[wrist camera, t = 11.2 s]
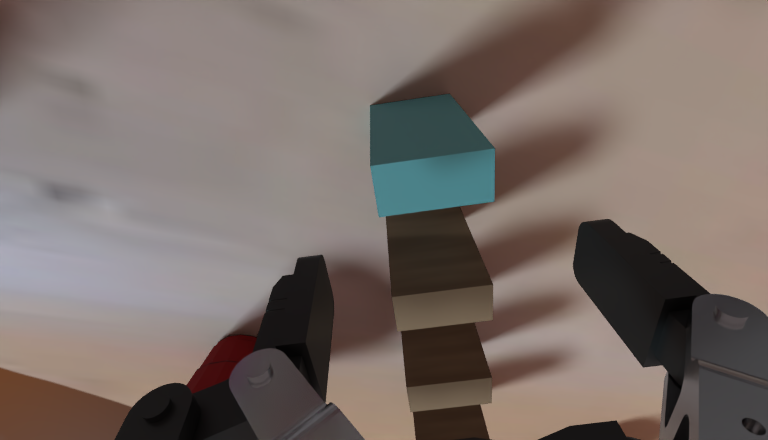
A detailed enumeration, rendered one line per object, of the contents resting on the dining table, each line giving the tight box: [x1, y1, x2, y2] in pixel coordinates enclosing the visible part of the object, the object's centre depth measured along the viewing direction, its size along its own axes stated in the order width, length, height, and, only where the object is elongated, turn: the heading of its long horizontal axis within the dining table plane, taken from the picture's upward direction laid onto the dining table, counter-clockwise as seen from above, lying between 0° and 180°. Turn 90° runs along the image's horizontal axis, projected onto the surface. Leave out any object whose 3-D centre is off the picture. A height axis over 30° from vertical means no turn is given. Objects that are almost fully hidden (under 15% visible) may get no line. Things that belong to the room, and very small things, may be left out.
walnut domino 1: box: [386, 206, 493, 332], centre depth 24 cm, size 2×5×10 cm, turn 98°
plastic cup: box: [186, 335, 257, 394], centre depth 30 cm, size 11×11×12 cm
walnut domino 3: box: [413, 404, 489, 440], centre depth 31 cm, size 2×5×10 cm, turn 98°
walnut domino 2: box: [401, 322, 492, 412], centre depth 27 cm, size 2×5×10 cm, turn 97°
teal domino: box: [370, 94, 495, 217], centre depth 20 cm, size 2×5×10 cm, turn 98°
